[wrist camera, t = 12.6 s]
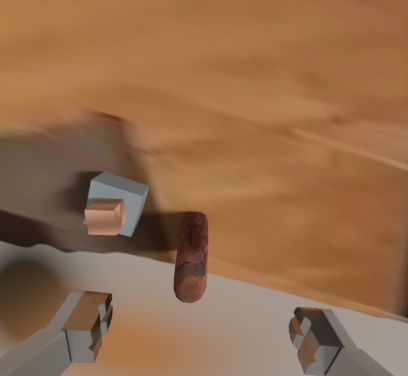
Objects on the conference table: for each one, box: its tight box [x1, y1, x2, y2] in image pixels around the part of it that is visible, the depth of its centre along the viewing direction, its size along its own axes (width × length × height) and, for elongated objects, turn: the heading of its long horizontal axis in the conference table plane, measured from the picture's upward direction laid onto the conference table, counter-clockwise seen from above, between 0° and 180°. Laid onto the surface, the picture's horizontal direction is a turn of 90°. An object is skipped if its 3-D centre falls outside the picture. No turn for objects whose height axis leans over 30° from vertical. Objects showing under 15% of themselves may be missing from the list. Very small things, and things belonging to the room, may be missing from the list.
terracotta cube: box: [85, 198, 126, 235], centre depth 39 cm, size 5×5×5 cm
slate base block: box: [83, 171, 149, 237], centre depth 44 cm, size 10×10×6 cm
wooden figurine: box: [174, 212, 208, 303], centre depth 42 cm, size 12×6×18 cm, turn 173°
